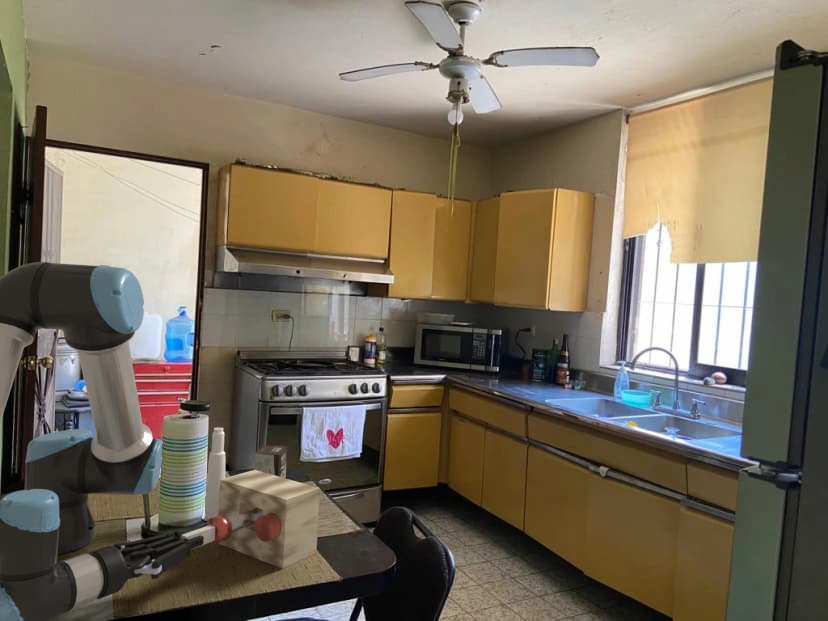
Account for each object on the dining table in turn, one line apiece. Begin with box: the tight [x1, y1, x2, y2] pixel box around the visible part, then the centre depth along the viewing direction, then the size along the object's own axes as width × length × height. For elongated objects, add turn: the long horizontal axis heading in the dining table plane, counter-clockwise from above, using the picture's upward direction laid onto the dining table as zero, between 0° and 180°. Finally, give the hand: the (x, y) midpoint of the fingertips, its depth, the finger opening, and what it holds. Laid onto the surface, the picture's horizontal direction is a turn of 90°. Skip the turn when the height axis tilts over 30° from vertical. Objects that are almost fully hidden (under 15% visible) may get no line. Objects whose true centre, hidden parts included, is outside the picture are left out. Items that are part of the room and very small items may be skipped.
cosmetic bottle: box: [204, 427, 226, 518], centre depth 143 cm, size 6×6×22 cm
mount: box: [218, 469, 321, 570], centre depth 126 cm, size 20×12×14 cm, turn 58°
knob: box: [204, 508, 263, 545], centre depth 121 cm, size 12×5×5 cm, turn 148°
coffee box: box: [253, 445, 288, 479], centre depth 148 cm, size 9×6×16 cm
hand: (212, 532), depth 114 cm, fingers closed
